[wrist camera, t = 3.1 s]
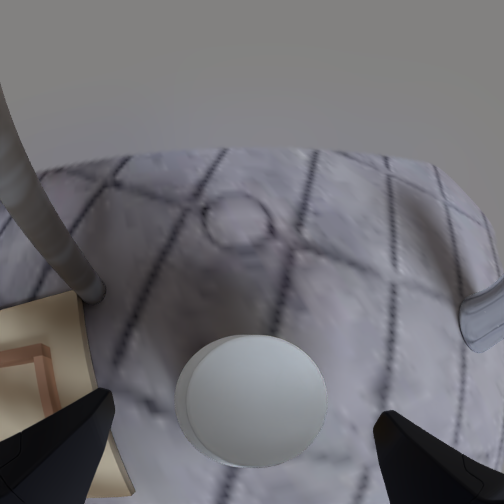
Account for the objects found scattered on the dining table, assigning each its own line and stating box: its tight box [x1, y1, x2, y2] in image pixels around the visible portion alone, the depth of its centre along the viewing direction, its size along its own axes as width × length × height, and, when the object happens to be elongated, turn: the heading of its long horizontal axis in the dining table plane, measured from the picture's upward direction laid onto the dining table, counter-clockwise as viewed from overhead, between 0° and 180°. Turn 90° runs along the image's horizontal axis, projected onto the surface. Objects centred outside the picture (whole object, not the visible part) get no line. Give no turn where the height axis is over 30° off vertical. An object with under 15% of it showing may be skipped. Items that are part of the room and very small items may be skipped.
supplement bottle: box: [175, 335, 328, 468], centre depth 11 cm, size 5×5×10 cm
